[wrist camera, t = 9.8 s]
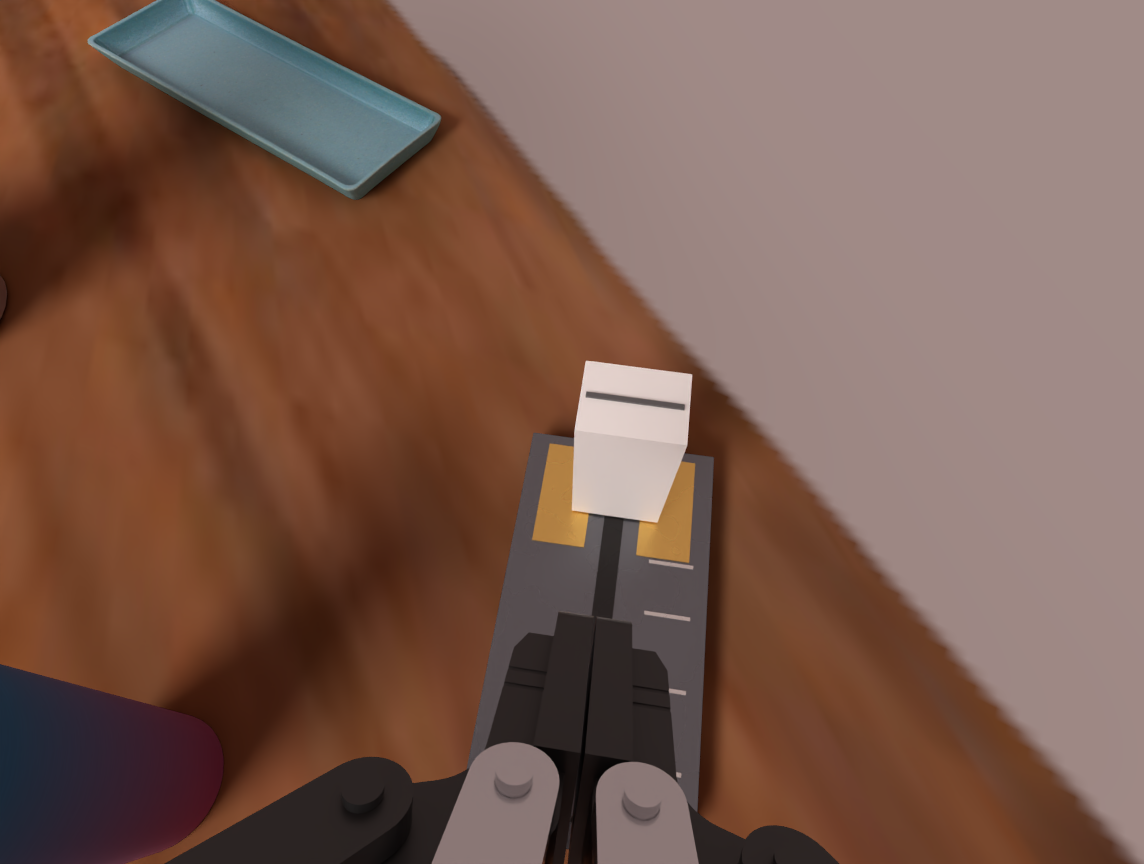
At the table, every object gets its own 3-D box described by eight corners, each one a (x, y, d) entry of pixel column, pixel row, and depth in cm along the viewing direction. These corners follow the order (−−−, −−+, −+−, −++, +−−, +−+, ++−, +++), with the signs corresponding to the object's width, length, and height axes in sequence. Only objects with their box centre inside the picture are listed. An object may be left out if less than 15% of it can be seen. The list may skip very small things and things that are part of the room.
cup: (158, 662, 28) (-212, 569, 15) (281, 740, 26) (-4, 716, 13) (32, 824, 25) (-570, 891, 12) (163, 921, 24) (-352, 1123, 10)
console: (687, 861, 25) (700, 872, 22) (461, 822, 25) (450, 828, 23) (708, 455, 33) (719, 429, 30) (537, 431, 33) (535, 405, 31)
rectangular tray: (449, 141, 45) (444, 109, 43) (359, 217, 41) (348, 186, 39) (201, 16, 51) (185, -17, 49) (104, 73, 48) (83, 39, 46)
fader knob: (657, 522, 29) (687, 444, 22) (571, 510, 29) (574, 428, 22) (662, 464, 31) (692, 372, 23) (580, 453, 31) (586, 358, 24)
